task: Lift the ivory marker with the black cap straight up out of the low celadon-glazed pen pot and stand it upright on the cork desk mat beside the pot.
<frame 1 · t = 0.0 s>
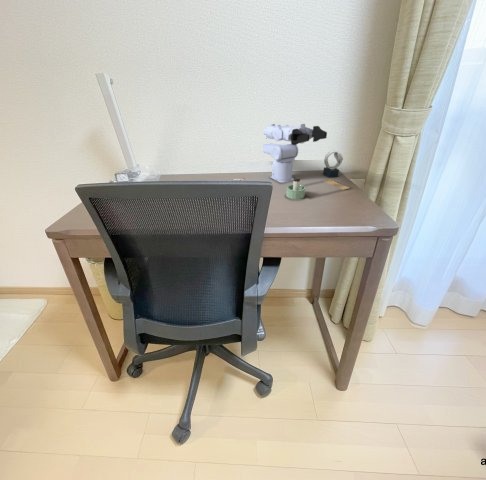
hand: (317, 136, 92), 22 cm above the table, tool horizontal, fingers open, 7 cm apart
cork mat: (320, 188, 107), on the table
marker: (295, 195, 101), resting on pen pot
pen pot: (295, 196, 102), on the table
walkie-talkie: (242, 190, 111), on the table
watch: (330, 175, 121), on the table
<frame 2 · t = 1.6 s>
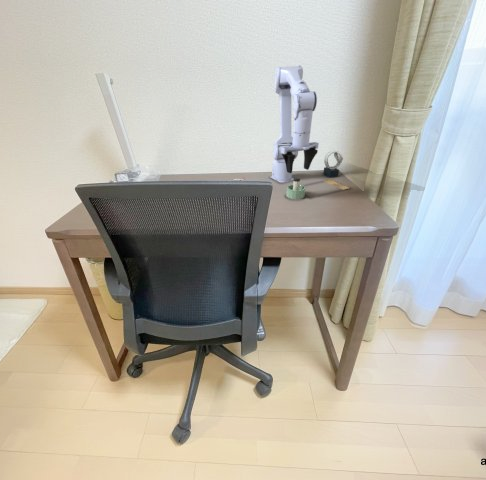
hand: (297, 170, 96), 10 cm above the table, tool pointing down, fingers open, 7 cm apart
nothing on the table moved.
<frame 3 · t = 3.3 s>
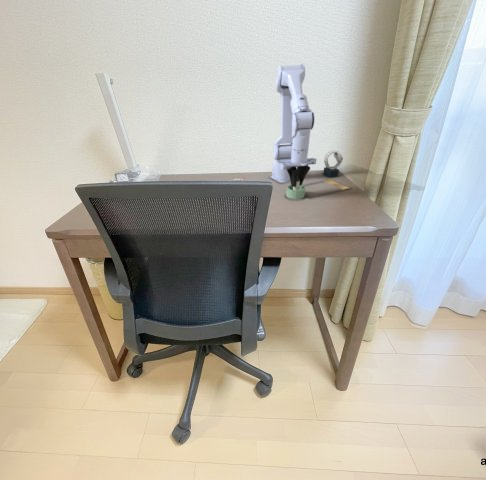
hand: (296, 185, 99), 5 cm above the table, tool pointing down, fingers closed on marker, 2 cm apart
marker: (295, 195, 101), point 1 cm above the table, touching gripper, pen pot
everything else where it was.
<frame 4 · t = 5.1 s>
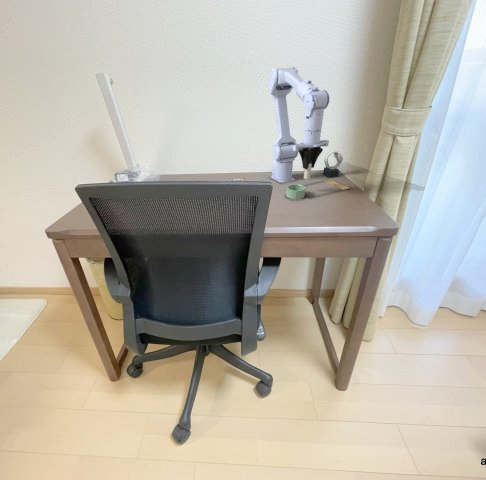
hand: (308, 167, 99), 10 cm above the table, tool pointing down, fingers closed on marker, 2 cm apart
marker: (306, 178, 101), point 6 cm above the table, touching gripper
everything else where it was.
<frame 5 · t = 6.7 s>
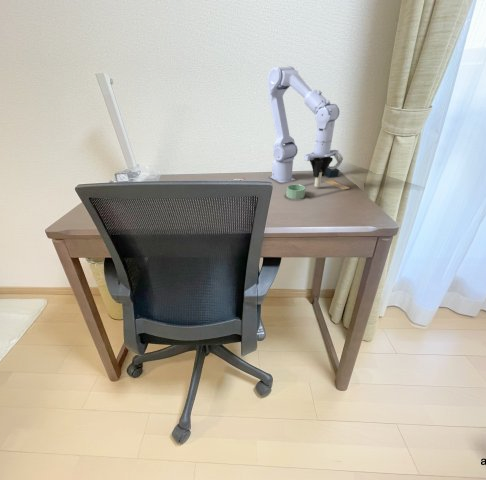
hand: (318, 176, 104), 6 cm above the table, tool pointing down, fingers closed on marker, 2 cm apart
marker: (317, 185, 106), point 1 cm above the table, touching gripper
everything else where it was.
when the fingers open (4 cm above the table, at t = 7.3 s): marker stays where it is, resting on cork mat.
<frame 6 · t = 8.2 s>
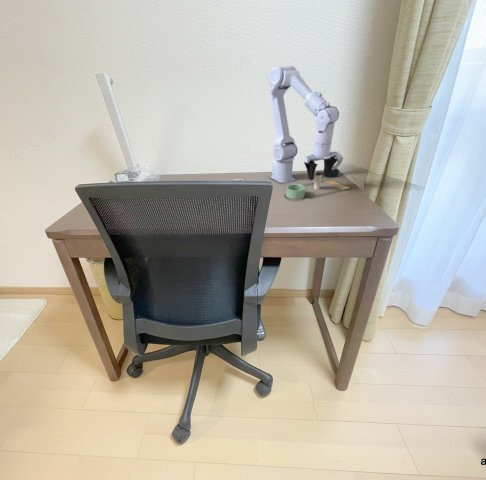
hand: (318, 177, 104), 5 cm above the table, tool pointing down, fingers open, 7 cm apart
marker: (316, 188, 107), resting on cork mat
everything else where it was.
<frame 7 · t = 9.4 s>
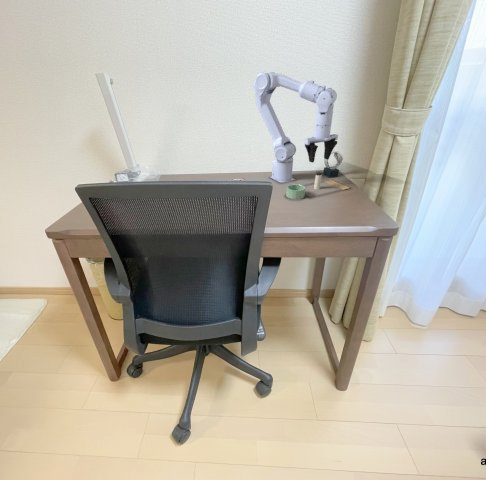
hand: (318, 160, 106), 10 cm above the table, tool pointing down, fingers open, 7 cm apart
nothing on the table moved.
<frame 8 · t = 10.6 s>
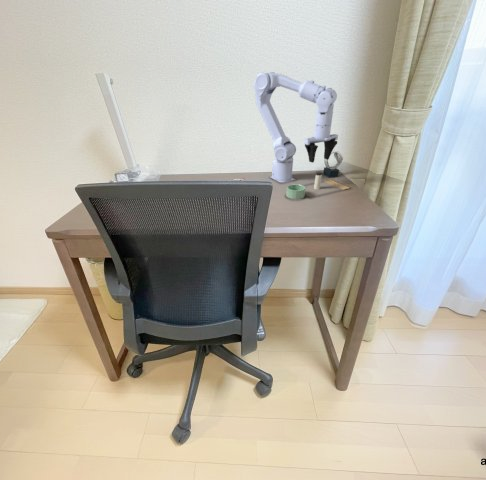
hand: (318, 160, 106), 10 cm above the table, tool pointing down, fingers open, 7 cm apart
nothing on the table moved.
at the end: marker inside the target area (1.0 cm from its centre), resting on cork mat; marker tilted 0°; the gripper is holding nothing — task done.
